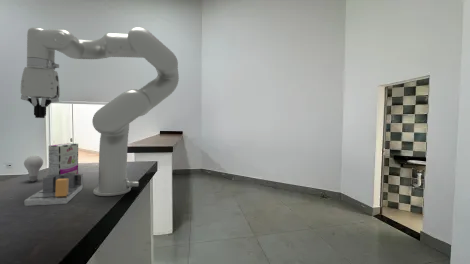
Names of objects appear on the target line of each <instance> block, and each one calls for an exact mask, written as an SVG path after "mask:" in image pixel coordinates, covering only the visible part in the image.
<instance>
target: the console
mask: <svg viewBox="0 0 470 264" xmlns="http://www.w3.org/2000/svg"><path fill="white" fill-rule="evenodd" d="M67 178H69V185H68V195H66V196H58V197H55V194H56V180H57V179H67ZM83 184H84V174H83V173H78V174H75V173H66V174H54V175H49V174H47V175H46V176H44V177H42V189H40V190H39V191H37V192H35V193H34V194H31V195H30V196H29V197H27V198H26V199H24V207H28V206H29V207H30V206H31V207H32V206H45V205H46V206H49V205H63V204H65V205H66V204H69V202H70V201H71V200H72V199H73V198H74V197H76V196H77V195H78V194H79V192H81V191H82V190H83V188H84V187H83V186H84V185H83Z"/></svg>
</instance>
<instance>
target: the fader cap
mask: <svg viewBox="0 0 470 264" xmlns="http://www.w3.org/2000/svg"><path fill="white" fill-rule="evenodd" d="M68 185H69V178H67V179H57V180H56V194H55V197H58V196H66V195H68Z"/></svg>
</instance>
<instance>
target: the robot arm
mask: <svg viewBox="0 0 470 264" xmlns="http://www.w3.org/2000/svg"><path fill="white" fill-rule="evenodd" d="M26 37H27V39H26V66H25V67H24V69H23V72H22V74H21V81H20V94H21V97H20V100H23V101H25V102H28V103H30V104H31V105H32V106H33V115H34V118H36V119H45V116H47V107H48V106H50V105H51V104H52V103H58V102H60V99H59V98H60V95H61V91H60V79H59V74H58V71H56V69H60V64H59V63H56V61H55V59H56V58H55V56H56V54H55V53H56V51H57V52H58V53H61V54H63V55H65V56H66V57H69V58H71V59H74V60H101V59H102V60H103V59H107V58H138V59H139V58H141V59H142V58H143V59H145V61H147V62H148V63H149V64H150V65H152V66H153V67H154V68H155V70H156V72H157V76H156V77H155V78H154V79H152V80H150V81H149V82H148V83H146V84H145V85H144V86H142V87H140V88H139V89H135V88H134V89H132V88H131V89H128V90H126V91H124V92H122V93H121V94H119V95H118V96H116V97H115V98H114V99H112V100H111V101H109V102H108V103H106V104H104V105H103V106H102V107H100V108H99V109H98V110H96V112H95V113H94V114H93V118H92V126H93V128H94V130H95V131H97V133H99V134H100V138H99V146H98V147H99V148H98V149H99V151H98V185H97V187H95V188H94V189H93V190H92V192H93V194H94V195H95V196H100V197H112V196H120V195H125V194H127V193H129V192H130V191H131V187H134V188H135V187H139V184H140V182H139V181H138V180H137V181H136V180H129V177H127V172H128V168H127V166H128V148H129V147H128V144H129V143H128V141H129V134H130V133H129V132H130V124H131V123H133V121H135V120H136V119H138V118H139V117H144V116H145V115H147V114H148V113H149V112H150V111H151V110H153V109H154V108H155V107H156V106H158V105H159V104H160V103H162V102H163V101H164V100H165V99H167V98H168V97H169V96H171V95H172V94H173V92H175V90H176V88H177V87H178V84H179V81H180V80H179V79H180V77H179V69H178V68H179V61H178V58H177V56H176V55H175V53H174V52H173V51H172V50H171V49H170V48H168V46H166V45H165V44H164V43H163V42H162V41H160V39H158V38H157V37H156V36H155V35H154V34H153V33H152V32H150V31H149V30H148V29H146V28H143V27H141V26H140V27H139V26H138V27H133V28H132V29H130V30H129V31H128V33H118V32H117V33H116V32H106V33H105V34H104V35H103V36H102V37H101V38H98V39H93V40H91V39H78V38H77V37H76V36H75V35H74V34H72V33H71V32H70V31H68V30H66V29H62V28H57V29H56V28H55V29H53V28H52V29H50V28H49V29H45V28H40V27H30V28H28V29H27V34H26ZM40 99H41V100H40Z"/></svg>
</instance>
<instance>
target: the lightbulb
mask: <svg viewBox="0 0 470 264" xmlns="http://www.w3.org/2000/svg"><path fill="white" fill-rule="evenodd" d="M43 165H44V160H43V158H42V157H40V156H37V155H30V156H28V157H27V158H25V160H24V162H23V166H24V168H25V169H26V171H27V172H28V176H29V177H28V178H29V182H30V181H31V182H36V181H37V180H38V177H39V174H40V170H41V168H42V167H43Z"/></svg>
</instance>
